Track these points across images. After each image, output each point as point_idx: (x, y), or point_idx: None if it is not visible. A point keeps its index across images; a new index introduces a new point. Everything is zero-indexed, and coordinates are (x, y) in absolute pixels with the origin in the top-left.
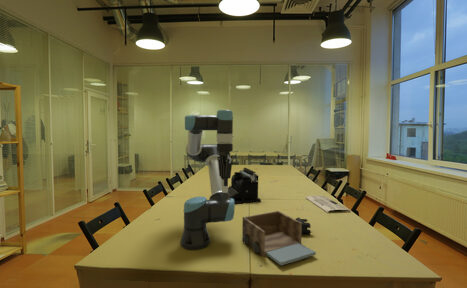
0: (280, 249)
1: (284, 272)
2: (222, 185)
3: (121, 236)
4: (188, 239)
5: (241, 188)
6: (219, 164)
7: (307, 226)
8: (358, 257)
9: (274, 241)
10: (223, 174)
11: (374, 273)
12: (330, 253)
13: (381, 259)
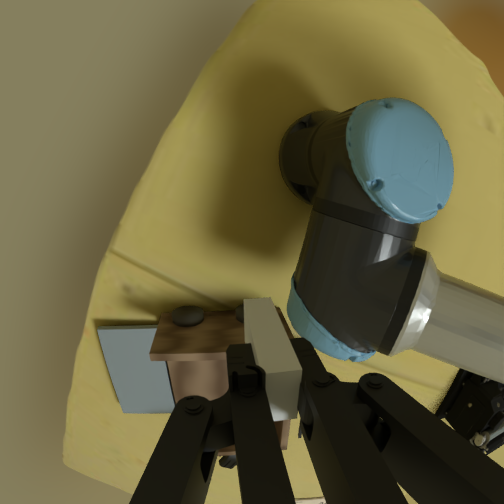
0: (159, 364)
1: (89, 320)
2: (258, 331)
3: (426, 16)
4: (311, 124)
5: (484, 397)
6: (464, 480)
7: (222, 459)
8: (113, 449)
9: (205, 374)
10: (257, 427)
11: (70, 431)
12: (134, 431)
13: (104, 462)
